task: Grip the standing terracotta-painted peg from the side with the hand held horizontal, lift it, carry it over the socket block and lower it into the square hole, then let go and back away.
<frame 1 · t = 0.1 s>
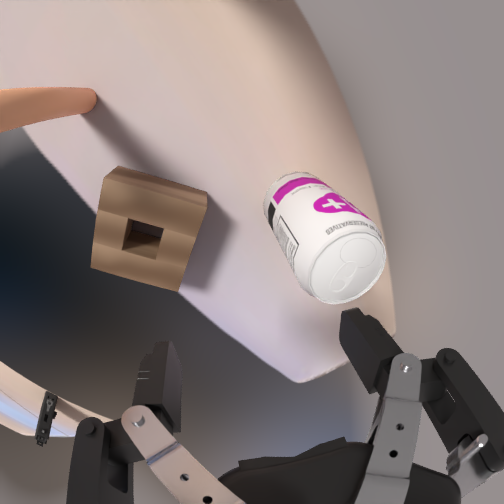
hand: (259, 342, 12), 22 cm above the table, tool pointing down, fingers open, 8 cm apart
socket block: (149, 220, 31), on the table
peg: (85, 100, 22), on the table
geiger counter: (51, 398, 50), on the table
supplement can: (294, 201, 33), on the table
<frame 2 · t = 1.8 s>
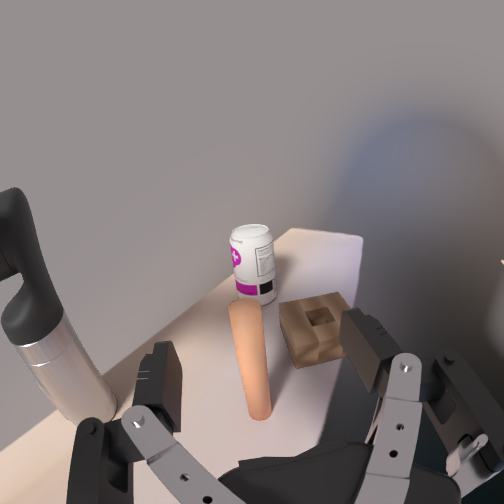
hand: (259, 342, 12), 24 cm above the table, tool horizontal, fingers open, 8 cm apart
socket block: (318, 338, 44), on the table
peg: (260, 411, 32), on the table
supplement can: (257, 297, 58), on the table
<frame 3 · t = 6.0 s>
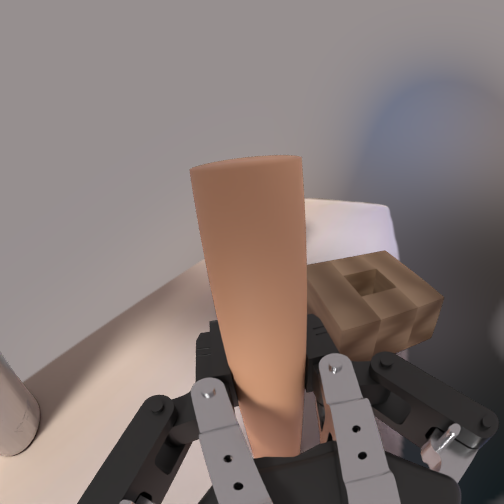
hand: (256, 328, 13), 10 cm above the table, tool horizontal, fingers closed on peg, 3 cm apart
socket block: (363, 321, 26), on the table
peg: (277, 457, 14), on the table, touching gripper
when the fingers open (11 cm above the table, at t = 10.9 s): peg drops 1 cm, resting in socket block.
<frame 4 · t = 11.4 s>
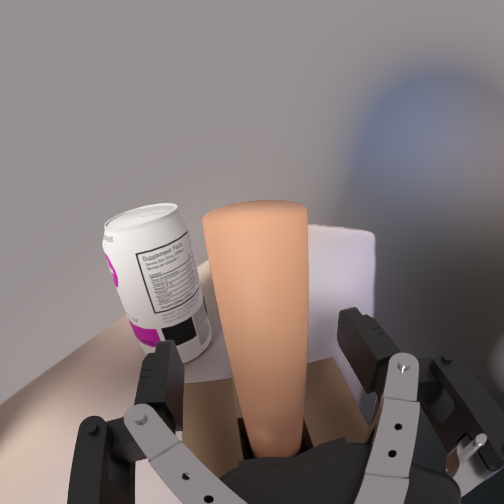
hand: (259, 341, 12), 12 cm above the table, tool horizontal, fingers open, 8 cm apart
socket block: (277, 464, 15), on the table
peg: (277, 465, 15), resting in socket block
supplement can: (178, 344, 29), on the table
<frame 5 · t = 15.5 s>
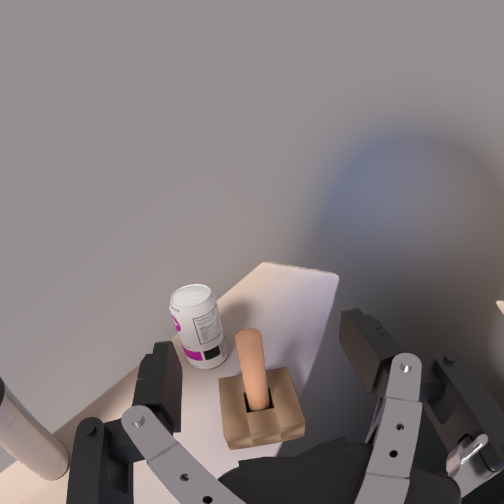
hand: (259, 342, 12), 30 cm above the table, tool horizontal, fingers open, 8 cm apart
socket block: (261, 416, 37), on the table
peg: (261, 416, 37), resting in socket block
supplement can: (208, 357, 51), on the table
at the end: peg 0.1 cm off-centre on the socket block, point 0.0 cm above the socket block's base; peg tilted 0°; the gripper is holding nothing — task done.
